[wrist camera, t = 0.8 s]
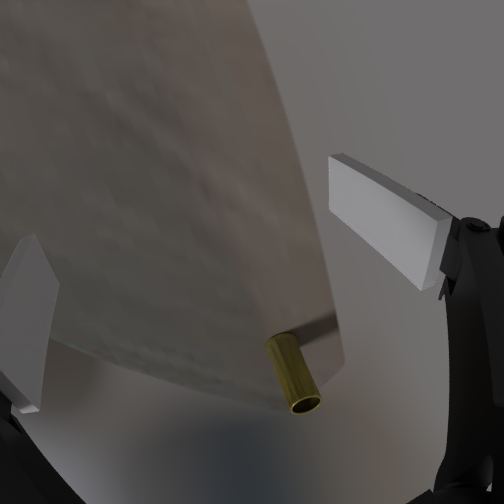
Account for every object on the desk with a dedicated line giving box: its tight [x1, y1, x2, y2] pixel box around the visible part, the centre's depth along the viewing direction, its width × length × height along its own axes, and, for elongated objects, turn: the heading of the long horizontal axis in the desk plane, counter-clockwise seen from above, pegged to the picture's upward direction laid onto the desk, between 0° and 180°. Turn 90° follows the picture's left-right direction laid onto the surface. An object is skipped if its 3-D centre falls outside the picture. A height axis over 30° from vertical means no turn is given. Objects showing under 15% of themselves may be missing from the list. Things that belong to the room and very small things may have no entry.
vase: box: [266, 333, 322, 415], centre depth 52 cm, size 6×6×14 cm
